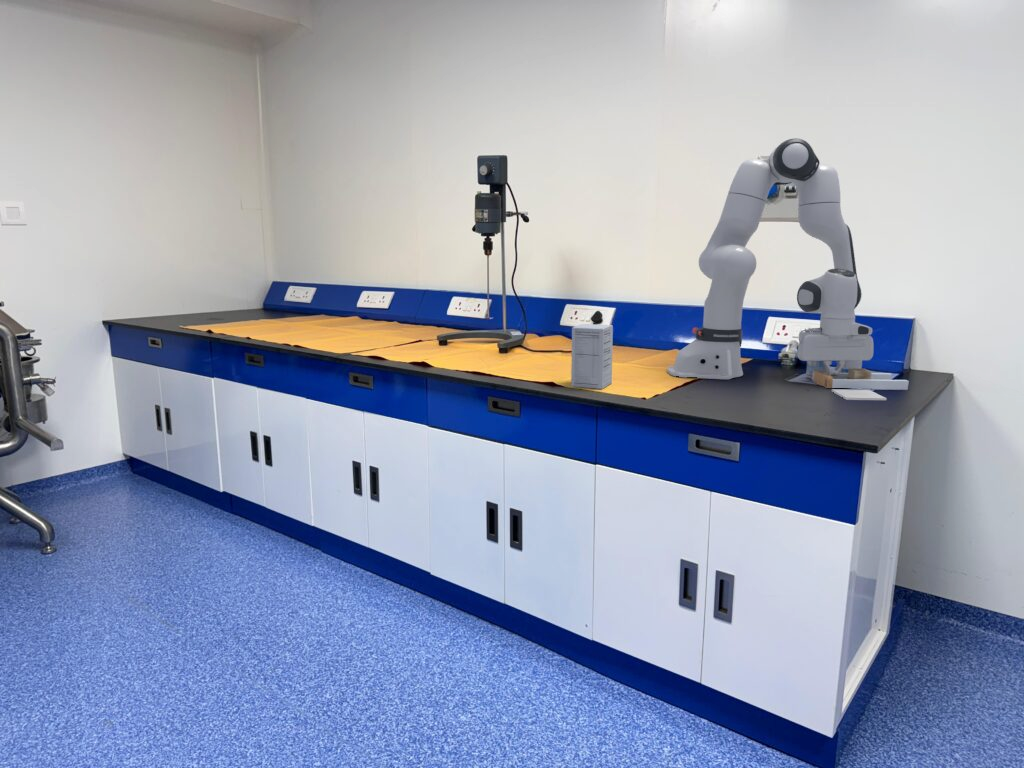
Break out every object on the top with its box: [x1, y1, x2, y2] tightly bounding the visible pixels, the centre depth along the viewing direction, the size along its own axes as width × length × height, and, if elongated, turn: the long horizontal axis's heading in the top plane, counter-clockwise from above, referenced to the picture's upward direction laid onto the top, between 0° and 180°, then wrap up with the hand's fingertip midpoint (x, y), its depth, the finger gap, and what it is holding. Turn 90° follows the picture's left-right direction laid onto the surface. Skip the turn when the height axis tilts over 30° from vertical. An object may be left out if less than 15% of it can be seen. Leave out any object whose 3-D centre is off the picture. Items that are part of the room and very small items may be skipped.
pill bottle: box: [805, 361, 827, 379], centre depth 208 cm, size 6×6×11 cm
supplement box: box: [570, 323, 614, 390], centre depth 196 cm, size 10×9×17 cm
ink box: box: [840, 360, 863, 373], centre depth 211 cm, size 8×5×12 cm, turn 168°
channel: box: [811, 370, 910, 391], centre depth 199 cm, size 22×11×3 cm, turn 87°
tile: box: [831, 389, 887, 401], centre depth 186 cm, size 10×10×1 cm
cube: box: [848, 368, 873, 379], centre depth 199 cm, size 4×4×4 cm
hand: (832, 375), depth 200 cm, fingers closed
